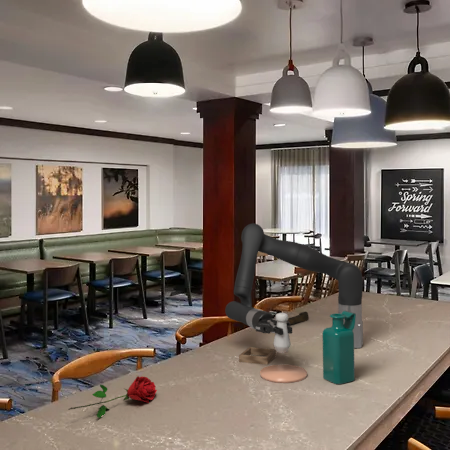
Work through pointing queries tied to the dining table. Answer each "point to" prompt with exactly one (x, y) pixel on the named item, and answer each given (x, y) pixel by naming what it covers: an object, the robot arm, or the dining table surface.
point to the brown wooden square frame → (248, 358)
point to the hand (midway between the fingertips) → (286, 331)
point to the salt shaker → (283, 340)
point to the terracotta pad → (283, 373)
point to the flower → (128, 393)
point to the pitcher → (339, 349)
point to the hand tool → (299, 318)
